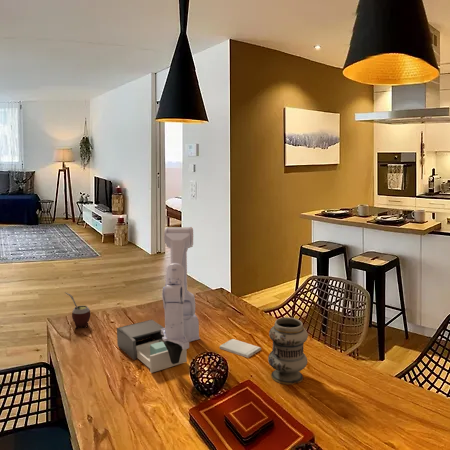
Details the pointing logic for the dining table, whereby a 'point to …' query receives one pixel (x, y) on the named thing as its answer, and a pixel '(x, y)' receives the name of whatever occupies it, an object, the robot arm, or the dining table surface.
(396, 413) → the dining table surface
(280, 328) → the apothecary jar
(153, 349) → the teal block
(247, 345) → the hard drive
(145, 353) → the tray
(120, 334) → the housing
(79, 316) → the mate gourd
